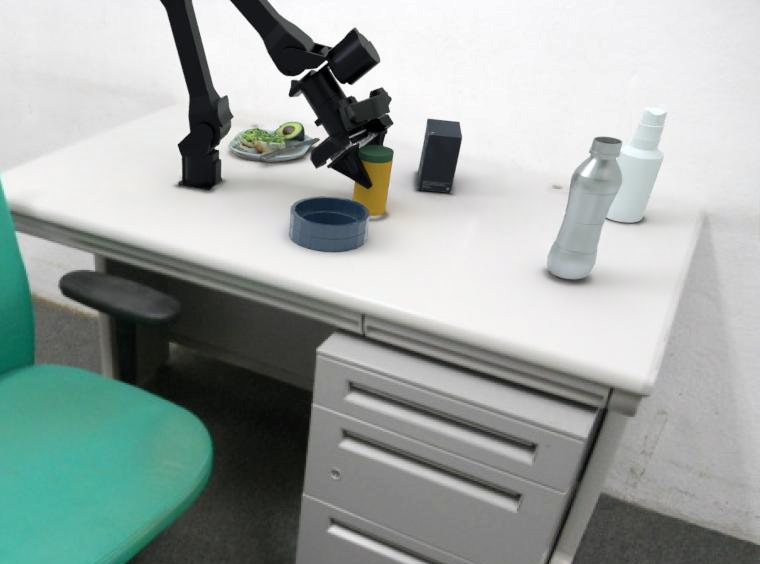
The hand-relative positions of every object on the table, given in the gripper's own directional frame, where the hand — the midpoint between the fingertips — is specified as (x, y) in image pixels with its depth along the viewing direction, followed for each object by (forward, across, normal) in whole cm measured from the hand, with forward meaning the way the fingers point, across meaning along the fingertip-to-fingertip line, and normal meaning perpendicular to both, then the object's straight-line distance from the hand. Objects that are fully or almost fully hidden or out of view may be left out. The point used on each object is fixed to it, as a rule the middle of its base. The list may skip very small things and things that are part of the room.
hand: (379, 182), depth 130 cm
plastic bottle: (+28, -2, -20) cm, 34 cm away
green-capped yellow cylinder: (+3, 0, +5) cm, 6 cm away
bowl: (+3, -14, +5) cm, 15 cm away
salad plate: (-20, +18, +28) cm, 39 cm away
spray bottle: (+28, +28, -20) cm, 44 cm away
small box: (+5, +22, +4) cm, 23 cm away
